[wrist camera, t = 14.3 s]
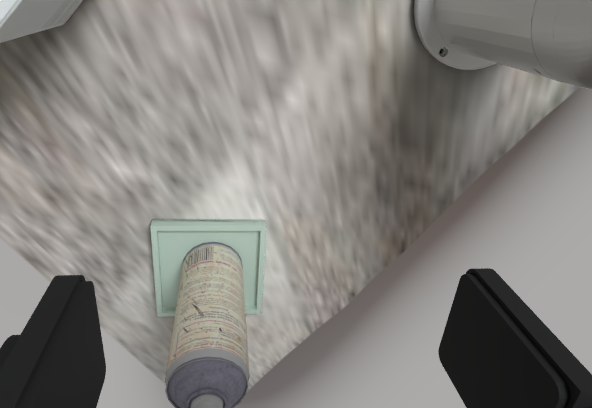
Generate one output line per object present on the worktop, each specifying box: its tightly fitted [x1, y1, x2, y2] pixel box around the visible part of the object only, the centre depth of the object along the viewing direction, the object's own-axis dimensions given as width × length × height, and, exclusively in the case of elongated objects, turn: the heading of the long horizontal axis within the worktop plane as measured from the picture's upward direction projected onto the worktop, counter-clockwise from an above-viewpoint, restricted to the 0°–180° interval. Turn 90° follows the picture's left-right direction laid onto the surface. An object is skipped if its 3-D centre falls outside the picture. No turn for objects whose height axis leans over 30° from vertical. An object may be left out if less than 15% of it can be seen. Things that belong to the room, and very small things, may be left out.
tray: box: [150, 219, 267, 317], centre depth 50 cm, size 12×12×2 cm
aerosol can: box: [165, 242, 250, 408], centre depth 41 cm, size 7×7×20 cm
